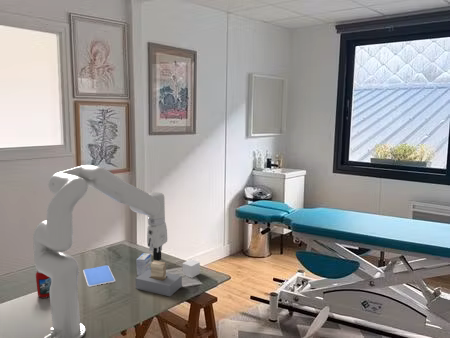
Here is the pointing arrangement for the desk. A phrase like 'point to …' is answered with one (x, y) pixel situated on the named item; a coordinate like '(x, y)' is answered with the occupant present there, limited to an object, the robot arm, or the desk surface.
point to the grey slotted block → (159, 283)
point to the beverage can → (43, 284)
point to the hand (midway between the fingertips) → (157, 259)
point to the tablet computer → (98, 276)
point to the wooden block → (158, 270)
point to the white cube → (191, 268)
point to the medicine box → (143, 263)
